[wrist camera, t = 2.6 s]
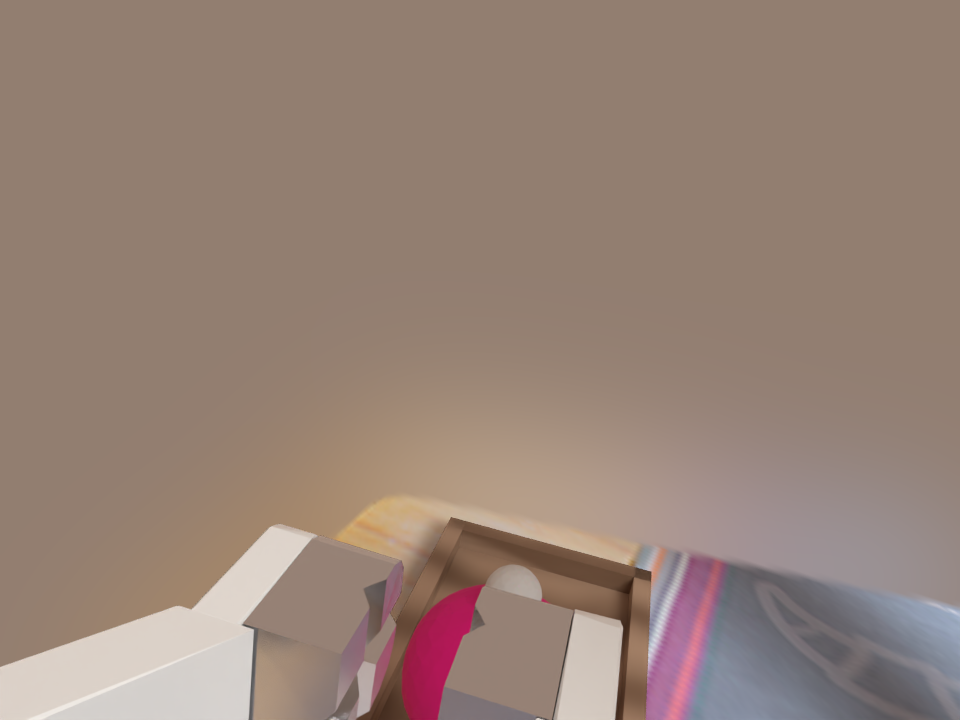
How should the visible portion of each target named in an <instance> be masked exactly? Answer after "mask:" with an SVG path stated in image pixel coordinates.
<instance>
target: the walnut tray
mask: <svg viewBox="0 0 960 720" xmlns="http://www.w3.org/2000/svg"><path fill="white" fill-rule="evenodd" d="M511 564H512V565H520V566H523V567H525V568H527V569H529V570H530V571H531V572H532V573H533V574H534V575H535V577H536V578H537V579H538V581H539V583H540V586H541V589H542V598H543V599H545V600H546V601H547V602H549V603H550V604H553V605H556V606H560V607H563V608H567V609H571V610H573V613H574V610H575V609H577V610H581V611H584V612H588V613H592V614H596V615H600V616H604V617H608V618H612V619H616V620H620V621H621V624H622V626H623V634H622V646H621V657H620V669H619V680H618V691H617V703H616V714H615V720H645V718H646V694H647V669H648V644H649V620H650V595H651V572H650V571H647V570H643V569H639V568H636V567H632V566H628V565H625V564H621V563H617V562H614V561H610V560H606V559H603V558H599V557H595V556H592V555H588V554H584V553H581V552H577V551H573V550H569V549H566V548H562V547H558V546H555V545H551V544H547V543H544V542H540V541H536V540H533V539H529V538H525V537H522V536H518V535H514V534H511V533H507V532H503V531H500V530H496V529H492V528H489V527H485V526H481V525H478V524H474V523H470V522H467V521H463V520H459V519H456V518H452V517H451V518H450V520H449V522H448V524H447V526H446V528H445V530H444V532H443V534H442V535H441V537H440V539H439V541H438V543H437V545H436V547H435V549H434V551H433V552H432V554H431V556H430V558H429V560H428V562H427V564H426V566H425V568H424V570H423V571H422V573H421V575H420V577H419V579H418V581H417V583H416V585H415V587H414V589H413V590H412V592H411V594H410V596H409V598H408V600H407V602H406V604H405V606H404V608H403V609H402V611H401V613H400V615H399V617H398V619H397V621H396V631H395V638H394V644H393V648H392V652H391V656H390V660H389V664H388V667H387V670H386V673H385V676H384V678H383V681H382V684H381V687H380V690H379V692H378V694H377V696H376V698H375V700H374V702H373V705H372V707H371V709H370V711H368V712H367V713H365V714H363V715H361V716H359V717H357V718H356V720H410V719H409V717H408V714H407V712H406V710H405V707H404V702H403V697H402V669H403V662H404V657H405V653H406V649H407V647H408V644H409V642H410V639H411V637H412V635H413V633H414V631H415V629H416V627H417V625H418V624H419V622H420V621H421V619H422V618H423V617H424V616H425V615H426V613H427V612H428V611H429V610H430V609H431V608H432V607H433V606H434V605H436V604H437V603H438V602H439V601H441V600H442V599H444V598H445V597H447V596H448V595H450V594H452V593H454V592H457V591H459V590H461V589H464V588H468V587H472V586H476V585H484V584H486V582H487V580H488V578H489V576H490V575H491V574H492V573H493V572H494V571H495V570H497V569H498V568H500V567H502V566H506V565H511Z"/></svg>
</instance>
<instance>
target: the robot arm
mask: <svg viewBox="0 0 960 720" xmlns="http://www.w3.org/2000/svg"><path fill="white" fill-rule="evenodd" d="M403 570H404V567H403V564H402V561H401V560H397V559H394V558H391V557H388V556H385V555H381V554H378V553H375V552H372V551H369V550H365V549H362V548H359V547H356V546H353V545H349V544H346V543H343V542H340V541H337V540H333V539H330V538H327V537H324V536H317V535H316V534H313V533H309V532H306V531H302V530H299V529H295V528H293V527H289V526H286V525H282V524H277V525H274V526H271V527H269V528H268V529H267V530H266V531H265V532H264V533H263V534H262V535H261V536H260V537H259V538H258V539H257V540H256V541H255V542H254V544H253V545H252V546H251V547H250V548H249V549H248V550H247V551H246V552H245V553H244V554H243V555H242V556H241V557H240V558H239V559H238V560H237V561H236V562H235V563H234V564H233V565H232V567H231V568H230V569H229V570H228V571H227V572H226V573H225V574H224V575H223V576H222V577H221V578H220V579H219V580H218V581H217V582H216V583H215V585H213V586H212V587H211V589H210V590H209V591H208V592H207V593H206V594H205V595H204V596H203V597H202V598H201V599H200V600H199V601H198V602H197V603H196V604H195V605H194V606H193V607H192V608H191V609H188V608H184V607H181V606H176V607H172V608H170V609H167V610H164V611H161V612H158V613H155V614H152V615H149V616H146V617H144V618H140V619H138V620H135V621H132V622H129V623H126V624H123V625H120V626H117V627H115V628H112V629H109V630H106V631H103V632H100V633H98V634H94V635H91V636H88V637H86V638H83V639H80V640H77V641H74V642H71V643H69V644H66V645H63V646H60V647H57V648H54V649H51V650H48V651H45V652H43V653H39V654H37V655H34V656H31V657H28V658H25V659H22V660H20V661H17V662H14V663H10V664H8V665H5V666H2V667H0V720H356V718H357V717H359V716H361V715H363V714H365V713H367V712H368V711H370V709H371V707H372V705H373V702H374V700H375V698H376V696H377V694H378V692H379V690H380V687H381V684H382V681H383V678H384V676H385V673H386V670H387V667H388V664H389V660H390V656H391V652H392V648H393V644H394V638H395V631H396V623H395V621H394V619H393V618H392V616H391V614H390V612H391V610H392V608H393V607H394V605H395V603H396V601H397V599H398V597H399V595H400V593H401V588H402V579H403ZM622 634H623V626H622V624H621V621H620V620H616V619H612V618H608V617H604V616H600V615H596V614H592V613H588V612H584V611H581V610H577V609H575V610H574V613H573V610H571V609H567V608H563V607H560V606H556V605H553V604H549V603H546V602H542V601H539V600H535V599H532V598H528V597H524V596H521V595H517V594H514V593H510V592H507V591H503V590H500V589H496V588H493V587H489V586H484V587H482V589H481V592H480V594H479V597H478V599H477V602H476V604H475V608H474V613H473V618H472V623H471V628H470V633H468V634H466V635H464V636H463V638H462V640H461V643H460V645H459V648H458V651H457V653H456V656H455V659H454V661H453V664H452V667H451V669H450V672H449V674H448V677H447V680H446V682H445V685H444V689H443V694H442V699H441V705H440V710H439V715H438V720H615V714H616V703H617V691H618V680H619V669H620V657H621V646H622Z"/></svg>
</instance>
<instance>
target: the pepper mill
mask: <svg viewBox="0 0 960 720" xmlns="http://www.w3.org/2000/svg"><path fill="white" fill-rule="evenodd" d="M484 586H489V587H493V588H496V589H500V590H503V591H507V592H510V593H514V594H517V595H521V596H524V597H528V598H532V599H535V600H539V601H542V602H546V603H549V602H547V601H546V600H545V599H543V598H542V589H541V586H540V583H539V581H538V579H537V578H536V577H535V575H534V574H533V573H532V572H531V571H530V570H529V569H527V568H525V567H523V566H520V565H512V564H511V565H506V566H502V567H500V568H498V569H497V570H495V571H494V572H493V573H492V574H491V575H490V576H489V578H488V580H487V582H486V584H484V585H476V586H472V587H468V588H464V589H461V590H459V591H457V592H454V593H452V594H450V595H448V596H447V597H445V598H444V599H442V600H441V601H439V602H438V603H437V604H436V605H434V606H433V607H432V608H431V609H430V610H429V611H428V612H427V613H426V615H425V616H424V617H423V618H422V619H421V621H420V622H419V624H418V625H417V627H416V629H415V631H414V633H413V635H412V637H411V639H410V642H409V644H408V647H407V649H406V653H405V657H404V662H403V669H402V697H403V702H404V707H405V710H406V712H407V714H408V717H409V719H410V720H438V715H439V710H440V705H441V699H442V694H443V689H444V685H445V682H446V680H447V677H448V674H449V672H450V669H451V667H452V664H453V661H454V659H455V656H456V653H457V651H458V648H459V645H460V643H461V640H462V638H463V636H464V635H466V634H468V633H470V628H471V623H472V618H473V613H474V608H475V604H476V602H477V599H478V597H479V594H480V592H481V589H482V587H484ZM549 604H550V603H549Z"/></svg>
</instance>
